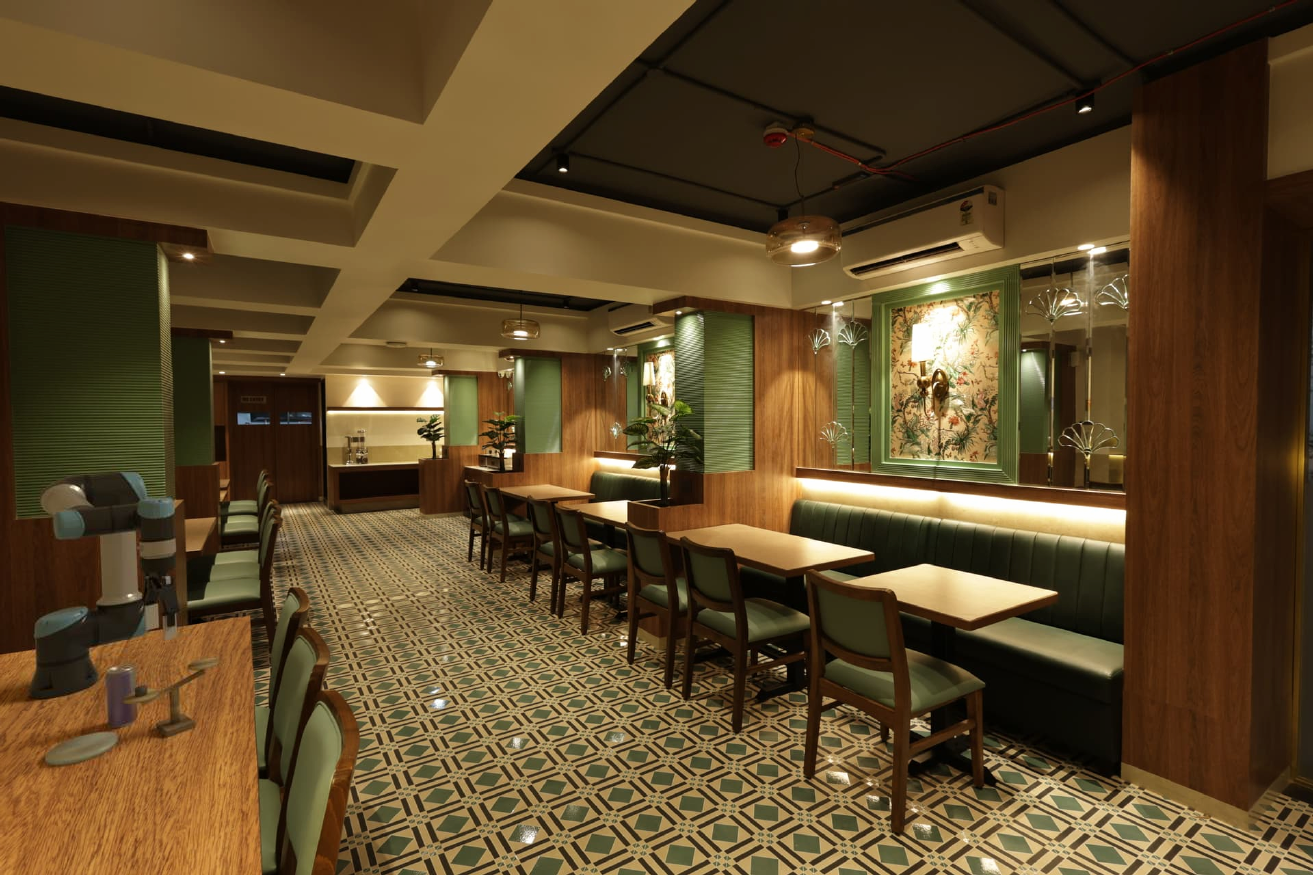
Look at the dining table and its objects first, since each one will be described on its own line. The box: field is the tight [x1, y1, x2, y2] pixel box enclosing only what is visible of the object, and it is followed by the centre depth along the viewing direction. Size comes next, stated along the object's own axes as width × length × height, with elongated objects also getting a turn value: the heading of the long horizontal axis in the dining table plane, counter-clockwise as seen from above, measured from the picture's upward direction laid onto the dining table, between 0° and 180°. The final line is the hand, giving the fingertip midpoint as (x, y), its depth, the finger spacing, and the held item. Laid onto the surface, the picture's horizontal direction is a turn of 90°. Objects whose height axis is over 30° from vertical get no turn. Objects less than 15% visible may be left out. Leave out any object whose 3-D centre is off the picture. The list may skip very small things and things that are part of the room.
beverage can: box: [105, 663, 138, 729], centre depth 163 cm, size 6×6×15 cm
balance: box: [123, 657, 221, 738], centre depth 160 cm, size 8×21×15 cm, turn 145°
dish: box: [44, 731, 119, 767], centre depth 150 cm, size 13×13×1 cm
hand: (161, 633), depth 164 cm, fingers open, 13 cm apart
